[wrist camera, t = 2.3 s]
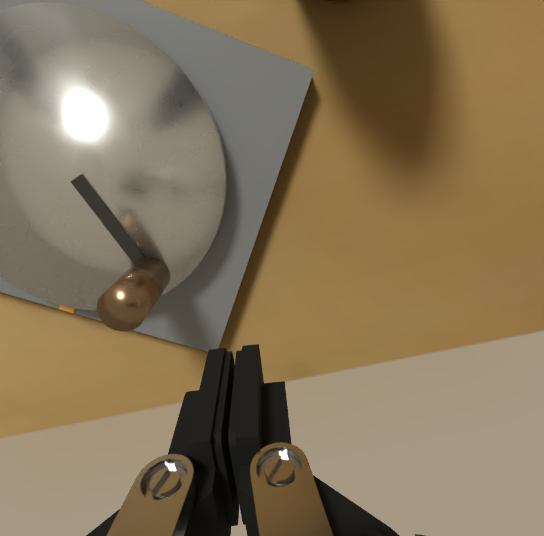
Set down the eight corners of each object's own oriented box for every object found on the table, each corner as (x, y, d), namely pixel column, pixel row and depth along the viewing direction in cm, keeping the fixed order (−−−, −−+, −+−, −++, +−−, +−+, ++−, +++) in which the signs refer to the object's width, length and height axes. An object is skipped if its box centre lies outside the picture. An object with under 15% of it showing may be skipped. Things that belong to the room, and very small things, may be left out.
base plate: (311, 74, 22) (314, 69, 21) (218, 343, 28) (215, 355, 27) (-70, -78, 19) (-99, -97, 18) (-79, 256, 26) (-101, 264, 24)
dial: (-121, 123, 21) (-279, 117, 15) (108, -62, 18) (28, -162, 12) (75, 340, 26) (17, 402, 20) (278, 222, 23) (282, 251, 17)
